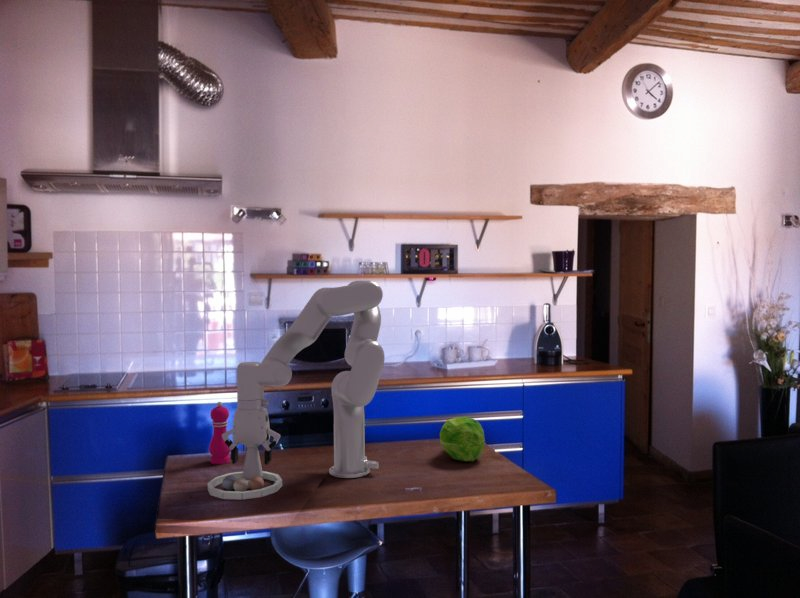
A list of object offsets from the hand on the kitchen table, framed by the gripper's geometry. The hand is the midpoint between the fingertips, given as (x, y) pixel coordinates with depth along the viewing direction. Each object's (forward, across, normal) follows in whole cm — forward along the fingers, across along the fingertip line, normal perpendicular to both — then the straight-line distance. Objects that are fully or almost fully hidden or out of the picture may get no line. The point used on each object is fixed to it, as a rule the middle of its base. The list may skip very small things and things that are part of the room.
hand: (251, 462), depth 189 cm
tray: (+7, 0, +5) cm, 9 cm away
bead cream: (+5, 0, +10) cm, 11 cm away
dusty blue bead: (+5, +4, +8) cm, 10 cm away
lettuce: (+7, -60, -38) cm, 71 cm away
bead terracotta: (+5, -4, +8) cm, 10 cm away
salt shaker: (+6, 0, 0) cm, 6 cm away
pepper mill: (+7, +19, -24) cm, 31 cm away
